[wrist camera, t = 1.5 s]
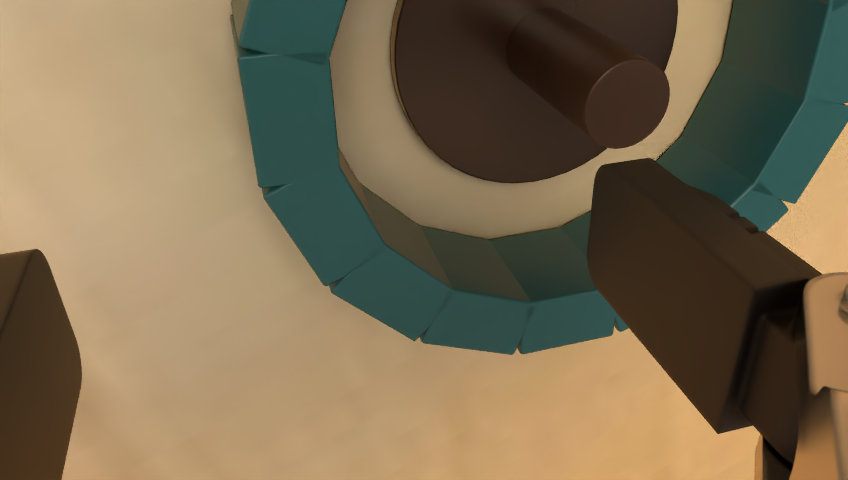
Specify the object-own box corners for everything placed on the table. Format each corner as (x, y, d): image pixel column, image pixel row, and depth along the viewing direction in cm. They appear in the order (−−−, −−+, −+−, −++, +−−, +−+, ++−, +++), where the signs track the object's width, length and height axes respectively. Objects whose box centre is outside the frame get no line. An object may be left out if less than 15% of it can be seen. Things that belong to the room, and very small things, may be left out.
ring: (171, -329, 13) (166, -367, 10) (861, -324, 17) (1000, -351, 14) (281, 323, 22) (295, 403, 19) (729, 240, 25) (799, 297, 22)
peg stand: (380, -116, 16) (444, -90, 12) (691, -133, 18) (839, -116, 14) (397, 195, 20) (448, 292, 16) (647, 156, 22) (750, 236, 18)
